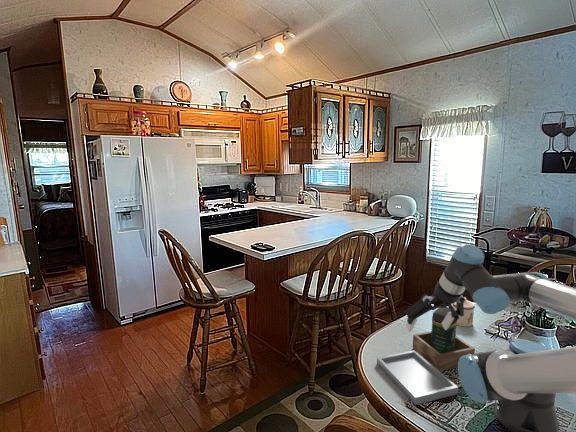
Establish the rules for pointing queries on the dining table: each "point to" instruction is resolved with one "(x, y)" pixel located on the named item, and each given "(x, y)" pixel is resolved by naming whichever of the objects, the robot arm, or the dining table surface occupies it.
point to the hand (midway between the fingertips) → (426, 327)
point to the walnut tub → (434, 357)
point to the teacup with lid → (466, 313)
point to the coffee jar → (442, 332)
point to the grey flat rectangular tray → (416, 377)
